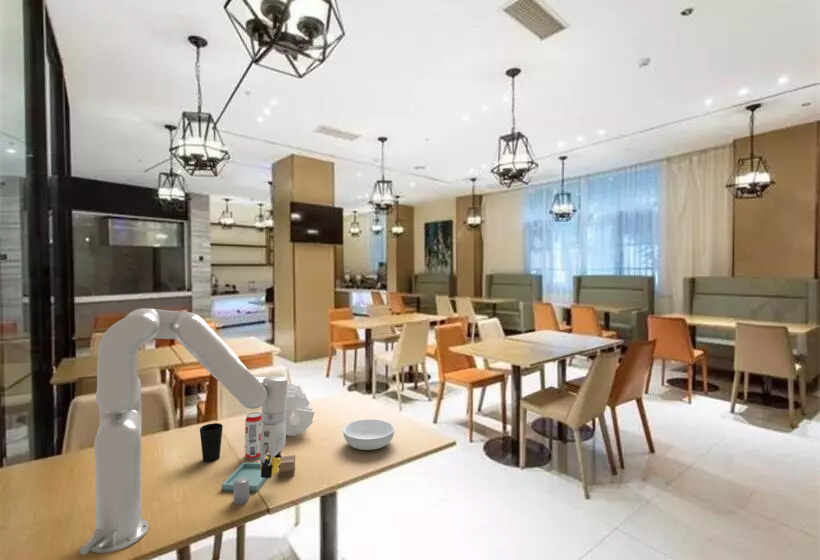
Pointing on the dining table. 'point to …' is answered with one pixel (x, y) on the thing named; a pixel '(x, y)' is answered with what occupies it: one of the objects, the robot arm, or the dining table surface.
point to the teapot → (274, 464)
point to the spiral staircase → (297, 411)
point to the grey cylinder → (241, 491)
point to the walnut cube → (287, 466)
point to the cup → (211, 441)
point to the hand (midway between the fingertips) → (270, 471)
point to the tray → (247, 471)
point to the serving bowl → (368, 434)
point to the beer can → (253, 435)
